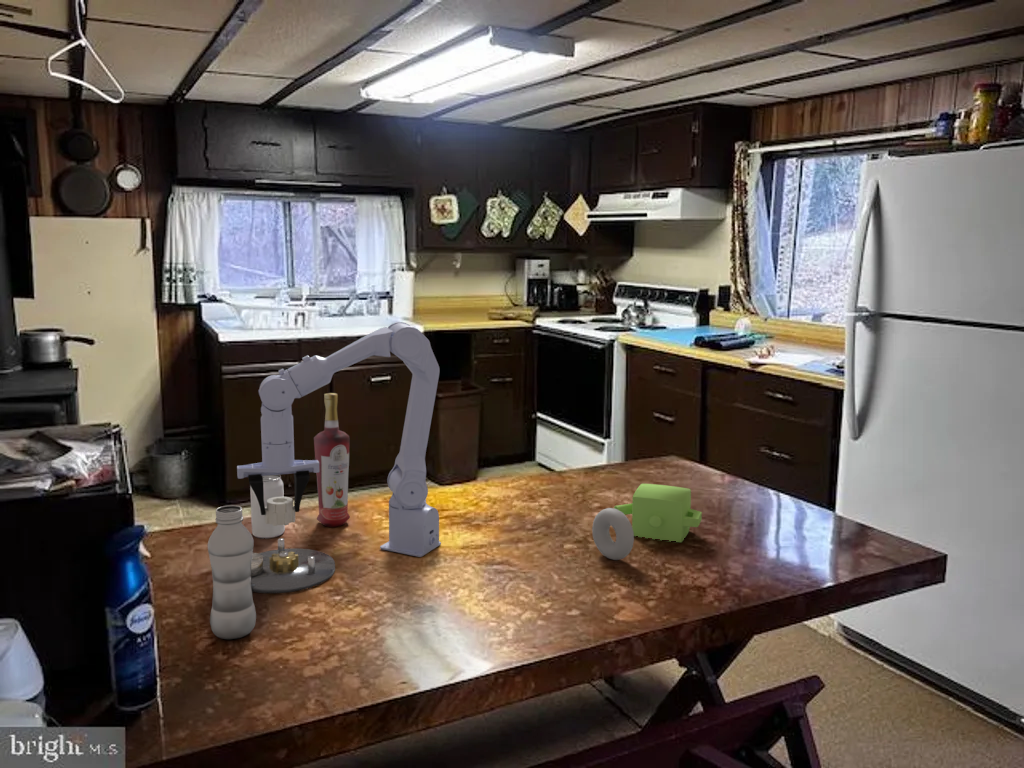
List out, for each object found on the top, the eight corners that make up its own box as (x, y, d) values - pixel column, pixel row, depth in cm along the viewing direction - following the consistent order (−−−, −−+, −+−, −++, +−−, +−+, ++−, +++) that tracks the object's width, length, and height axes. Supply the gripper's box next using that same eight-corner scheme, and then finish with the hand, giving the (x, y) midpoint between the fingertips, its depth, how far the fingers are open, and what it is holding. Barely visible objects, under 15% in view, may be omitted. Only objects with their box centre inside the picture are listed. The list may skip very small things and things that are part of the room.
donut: (636, 564, 155) (639, 514, 153) (623, 569, 152) (626, 517, 151) (600, 548, 162) (602, 500, 161) (587, 552, 160) (589, 503, 159)
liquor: (325, 531, 169) (322, 399, 164) (310, 522, 174) (306, 393, 169) (357, 524, 173) (355, 395, 168) (341, 515, 179) (338, 389, 174)
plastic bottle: (217, 625, 128) (211, 502, 124) (261, 624, 128) (256, 502, 125) (205, 645, 121) (198, 516, 118) (252, 644, 122) (246, 516, 118)
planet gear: (301, 519, 154) (301, 499, 153) (281, 527, 149) (281, 506, 148) (278, 514, 156) (278, 494, 156) (258, 522, 151) (258, 501, 151)
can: (275, 540, 164) (273, 482, 161) (246, 537, 165) (243, 480, 163) (290, 529, 170) (288, 473, 168) (261, 526, 171) (259, 471, 169)
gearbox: (608, 537, 170) (608, 494, 168) (620, 521, 179) (621, 479, 177) (695, 549, 163) (696, 504, 161) (703, 531, 172) (705, 489, 170)
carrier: (354, 563, 152) (354, 543, 152) (284, 605, 135) (283, 582, 134) (273, 546, 160) (272, 526, 160) (196, 582, 143) (195, 561, 142)
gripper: (315, 433, 156) (317, 501, 158) (235, 438, 151) (238, 508, 154) (320, 442, 150) (321, 513, 152) (236, 447, 145) (239, 520, 147)
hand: (280, 511), depth 152 cm, fingers closed on planet gear, 5 cm apart
